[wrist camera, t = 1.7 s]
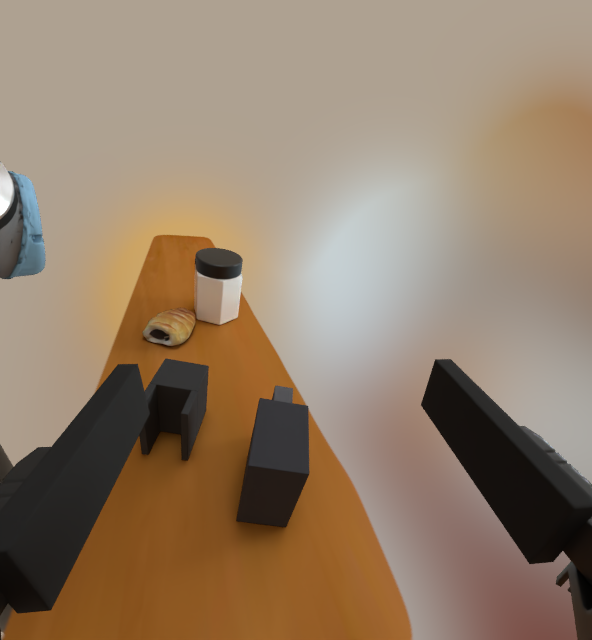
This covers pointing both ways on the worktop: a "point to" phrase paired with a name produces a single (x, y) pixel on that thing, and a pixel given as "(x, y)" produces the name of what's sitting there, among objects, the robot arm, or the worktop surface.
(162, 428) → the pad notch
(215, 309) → the jar
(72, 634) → the worktop surface
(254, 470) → the block
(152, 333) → the pastry
